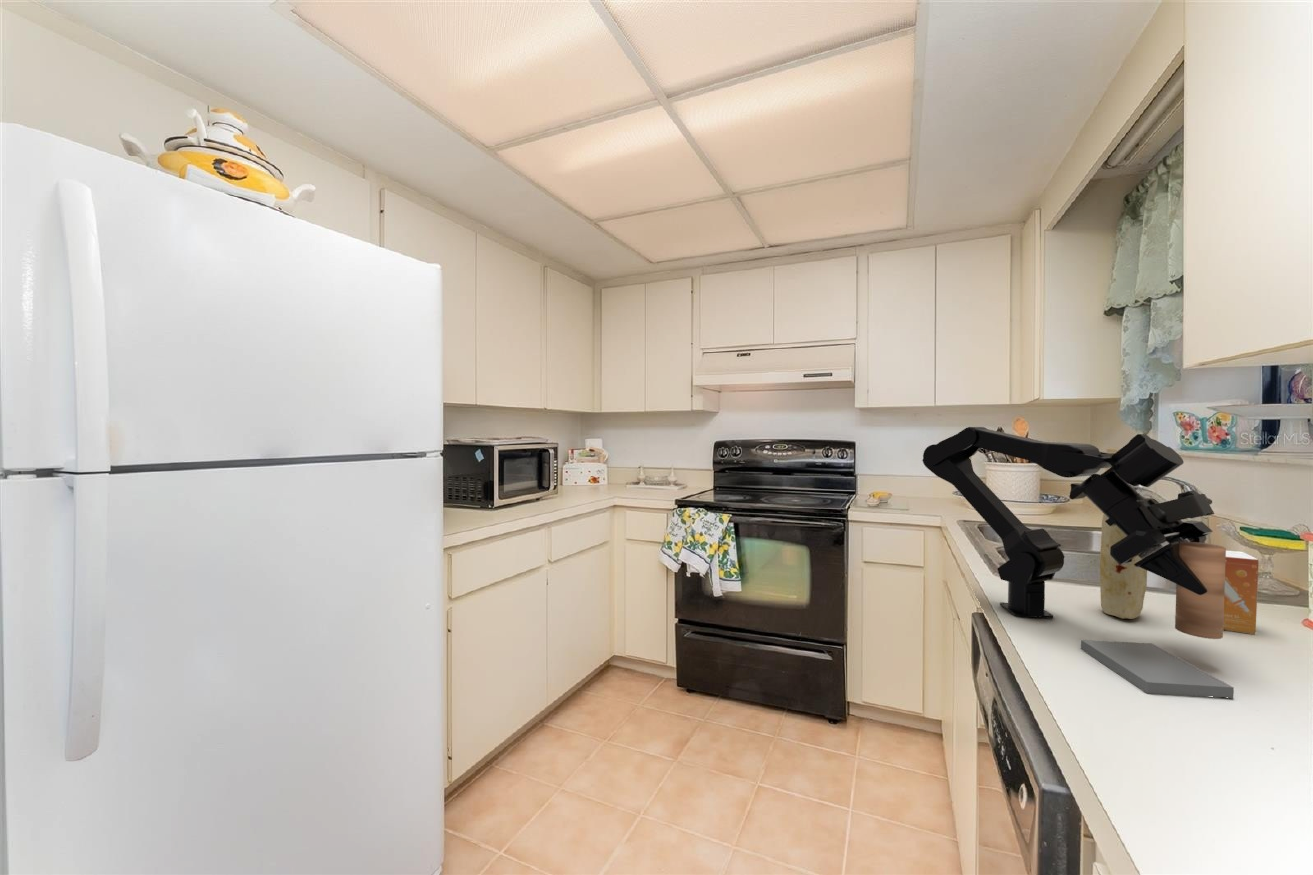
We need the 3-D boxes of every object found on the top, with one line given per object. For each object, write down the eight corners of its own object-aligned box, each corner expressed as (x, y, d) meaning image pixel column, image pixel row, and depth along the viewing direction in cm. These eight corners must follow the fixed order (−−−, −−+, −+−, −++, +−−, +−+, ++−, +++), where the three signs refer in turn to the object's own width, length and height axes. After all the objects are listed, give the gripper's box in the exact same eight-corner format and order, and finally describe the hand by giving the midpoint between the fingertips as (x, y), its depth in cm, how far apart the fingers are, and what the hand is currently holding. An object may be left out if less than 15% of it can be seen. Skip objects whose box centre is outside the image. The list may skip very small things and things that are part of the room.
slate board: (1080, 648, 85) (1080, 639, 85) (1151, 652, 83) (1151, 643, 83) (1146, 693, 71) (1147, 682, 71) (1233, 698, 70) (1233, 687, 70)
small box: (1192, 626, 94) (1194, 553, 94) (1179, 615, 100) (1181, 545, 99) (1257, 635, 90) (1260, 559, 90) (1240, 623, 96) (1242, 550, 95)
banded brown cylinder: (1166, 624, 82) (1169, 540, 82) (1206, 627, 81) (1209, 542, 81) (1190, 637, 78) (1193, 548, 77) (1232, 640, 76) (1235, 550, 76)
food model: (1149, 627, 94) (1151, 514, 93) (1099, 618, 98) (1102, 510, 97) (1144, 611, 101) (1146, 506, 101) (1098, 604, 106) (1100, 503, 105)
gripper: (1137, 476, 78) (1242, 570, 68) (1196, 470, 86) (1297, 554, 77) (1075, 520, 85) (1161, 611, 76) (1134, 511, 93) (1219, 592, 84)
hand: (1212, 590), depth 78 cm, fingers closed on banded brown cylinder, 5 cm apart
